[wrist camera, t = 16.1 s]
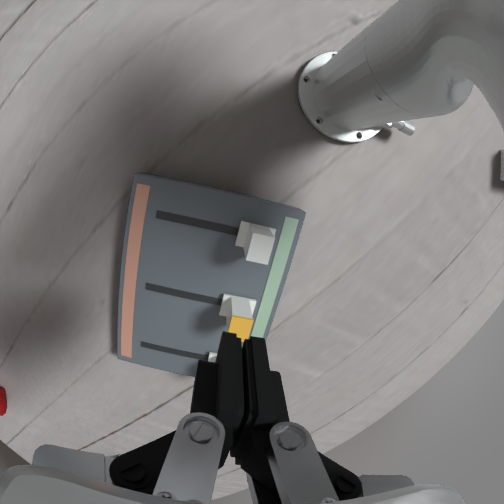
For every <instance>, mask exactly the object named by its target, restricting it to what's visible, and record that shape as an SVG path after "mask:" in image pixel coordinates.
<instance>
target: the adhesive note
mask: <svg viewBox="0 0 504 504" xmlns="http://www.w3.org/2000/svg"><path fill="white" fill-rule="evenodd" d="M500 180H501V181H504V150H501V175H500Z"/></svg>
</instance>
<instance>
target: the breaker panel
mask: <svg viewBox="0 0 504 504" xmlns="http://www.w3.org/2000/svg"><path fill="white" fill-rule="evenodd" d="M305 214H306V212H304V211H303V210H301V209H299V208H295V207H291V206H288V205H284V204H280V203H276V202H272V201H268V200H264V199H260V198H256V197H252V196H248V195H244V194H240V193H235V192H231V191H227V190H222V189H218V188H213V187H209V186H204V185H200V184H195V183H190V182H186V181H181V180H176V179H171V178H166V177H161V176H155V175H150V174H145V173H137V174H134V178H133V184H132V189H131V195H130V201H129V207H128V213H127V220H126V227H125V235H124V243H123V252H122V261H121V272H120V285H119V302H118V333H117V357H118V359H120V360H124V361H128V362H131V363H135V364H139V365H143V366H147V367H151V368H155V369H160V370H164V371H169V372H173V373H178V374H183V375H188V376H193V377H195V376H196V371H197V365H198V360H204V361H208V358H209V353H210V352H212V353H217V352H218V348H219V344H220V340H221V335H222V332H223V331H225V332H227V324H226V316H221V315H219V312H220V308H221V304H222V300H223V295H224V294H228V295H233V296H238V297H243V298H249V299H254V300H256V301H257V302H256V305H255V309H254V312H253V315H252V318H253V320H254V321H253V324H252V328H251V331H250V334H249V338H250V336H254V337H260V338H265V342H266V339H267V336H268V333H269V330H270V327H271V324H272V321H273V318H274V315H275V312H276V309H277V306H278V303H279V300H280V297H281V293H282V290H283V287H284V284H285V281H286V278H287V274H288V271H289V268H290V265H291V261H292V258H293V255H294V252H295V248H296V245H297V242H298V238H299V235H300V231H301V228H302V225H303V221H304V218H305ZM241 221H245V222H249V223H253V224H258V225H262V226H266V227H270V228H274V229H276V233H275V236H274V237H275V241H274V245H273V248H272V252H271V255H270V259H269V262H268V265H266V264H261V263H256V262H251V261H247V260H246V258H245V254H244V249H243V247H240V246H235V243H236V239H237V235H238V231H239V227H240V223H241ZM249 338H248V339H249ZM243 343H244V342H242V346H243Z"/></svg>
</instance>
